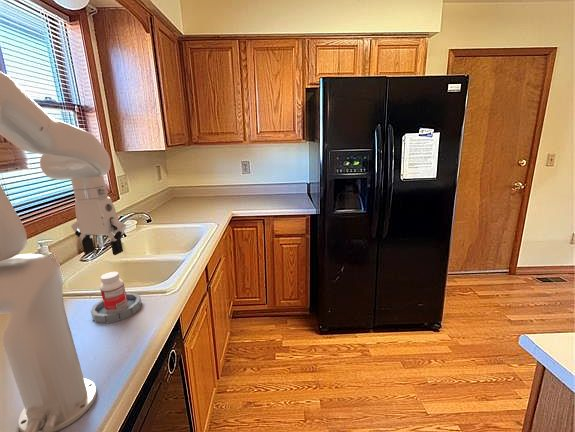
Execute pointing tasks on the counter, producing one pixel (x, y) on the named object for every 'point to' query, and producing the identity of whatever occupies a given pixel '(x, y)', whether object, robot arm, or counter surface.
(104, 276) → the pill bottle
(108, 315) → the round grey tray
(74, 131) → the robot arm
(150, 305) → the counter surface
